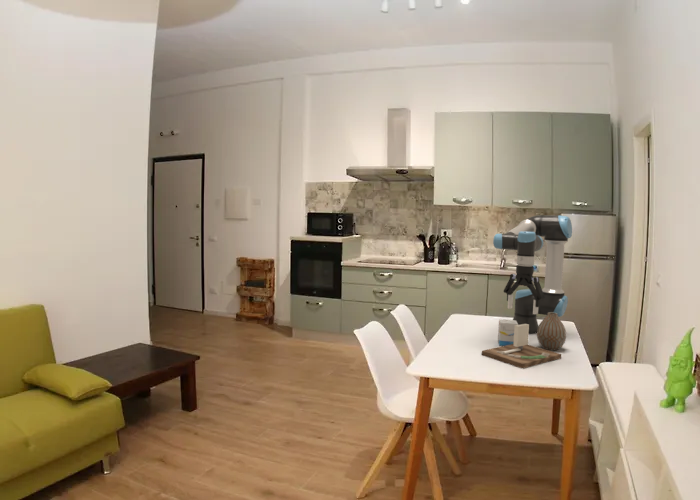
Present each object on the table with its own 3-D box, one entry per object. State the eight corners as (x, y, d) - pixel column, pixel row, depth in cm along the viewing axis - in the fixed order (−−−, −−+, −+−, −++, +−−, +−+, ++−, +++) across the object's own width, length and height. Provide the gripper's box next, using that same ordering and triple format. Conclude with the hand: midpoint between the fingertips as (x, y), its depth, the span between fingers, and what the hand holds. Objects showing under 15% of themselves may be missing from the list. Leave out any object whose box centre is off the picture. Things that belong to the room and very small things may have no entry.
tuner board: (519, 346, 237) (520, 341, 237) (561, 358, 219) (561, 353, 219) (481, 354, 222) (481, 350, 221) (522, 368, 204) (523, 363, 203)
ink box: (517, 347, 236) (518, 323, 235) (499, 345, 238) (500, 322, 237) (514, 342, 244) (516, 320, 244) (497, 341, 246) (498, 318, 245)
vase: (536, 350, 231) (538, 314, 230) (535, 343, 244) (537, 309, 242) (566, 353, 227) (568, 317, 226) (564, 346, 239) (566, 311, 238)
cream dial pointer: (523, 347, 226) (525, 323, 225) (527, 348, 225) (529, 324, 224) (501, 352, 217) (503, 327, 216) (505, 354, 216) (506, 328, 215)
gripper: (497, 262, 228) (495, 306, 230) (544, 268, 207) (541, 317, 209) (507, 262, 232) (505, 305, 234) (554, 267, 212) (551, 315, 213)
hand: (522, 311), depth 221 cm, fingers open, 13 cm apart
